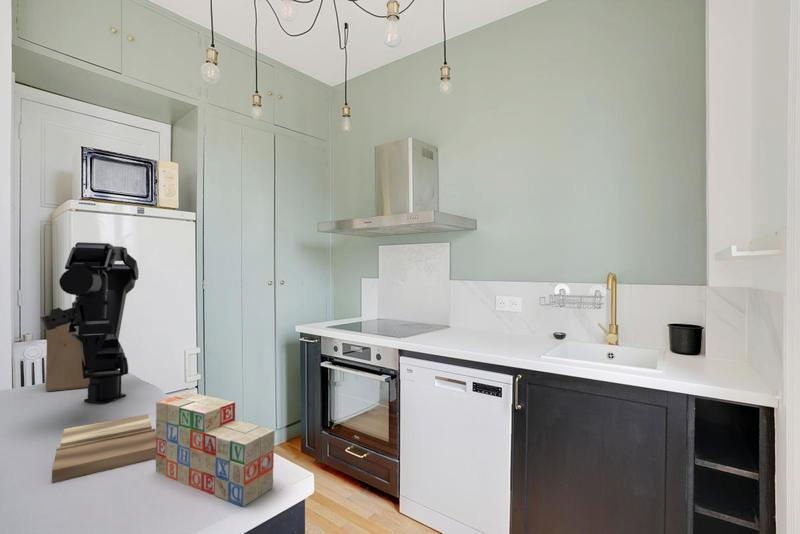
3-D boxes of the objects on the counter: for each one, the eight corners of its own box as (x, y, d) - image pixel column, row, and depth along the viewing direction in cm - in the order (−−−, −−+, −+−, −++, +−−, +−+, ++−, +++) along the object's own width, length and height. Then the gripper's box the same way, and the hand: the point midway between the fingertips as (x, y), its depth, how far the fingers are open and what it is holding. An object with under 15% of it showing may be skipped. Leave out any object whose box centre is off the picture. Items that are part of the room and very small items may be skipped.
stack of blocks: (274, 488, 63) (275, 411, 63) (242, 509, 57) (244, 424, 58) (188, 457, 73) (189, 390, 73) (154, 472, 67) (155, 400, 67)
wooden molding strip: (56, 459, 71) (57, 446, 71) (154, 438, 80) (154, 427, 80) (51, 482, 63) (52, 468, 63) (160, 457, 72) (160, 444, 72)
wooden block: (44, 392, 107) (46, 319, 107) (55, 383, 116) (56, 315, 116) (90, 388, 112) (92, 317, 112) (97, 379, 121) (98, 314, 121)
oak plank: (64, 428, 78) (60, 443, 72) (148, 414, 86) (151, 426, 80) (63, 444, 78) (60, 460, 72) (147, 427, 86) (151, 440, 80)
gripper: (40, 297, 92) (36, 365, 90) (49, 295, 79) (44, 374, 77) (100, 297, 100) (97, 360, 98) (116, 295, 87) (113, 367, 85)
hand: (87, 365), depth 90 cm, fingers closed
